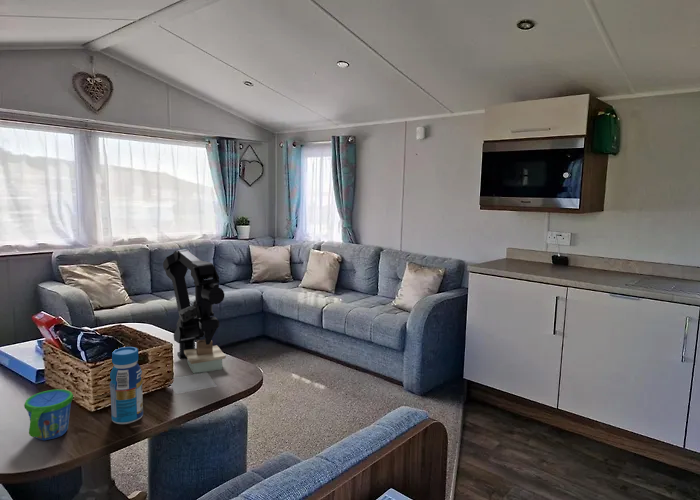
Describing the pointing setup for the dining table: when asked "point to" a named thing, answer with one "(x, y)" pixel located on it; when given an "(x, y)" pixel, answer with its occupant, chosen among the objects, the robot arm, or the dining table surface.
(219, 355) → the lid
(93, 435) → the dining table surface
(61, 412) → the snack cup
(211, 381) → the mat
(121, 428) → the dining table surface
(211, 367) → the dish
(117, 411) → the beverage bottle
